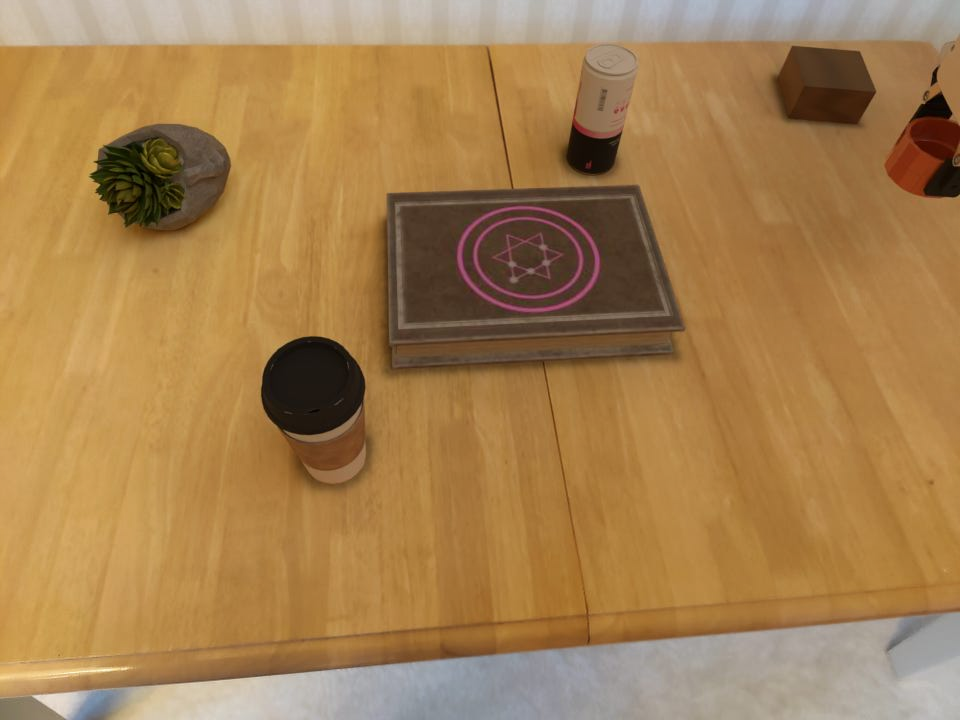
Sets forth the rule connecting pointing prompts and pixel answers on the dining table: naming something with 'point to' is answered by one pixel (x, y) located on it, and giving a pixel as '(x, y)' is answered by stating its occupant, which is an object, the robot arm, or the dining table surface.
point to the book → (525, 277)
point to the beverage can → (601, 107)
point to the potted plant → (162, 175)
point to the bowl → (922, 152)
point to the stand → (825, 85)
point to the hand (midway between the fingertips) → (927, 165)
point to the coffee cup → (318, 405)
